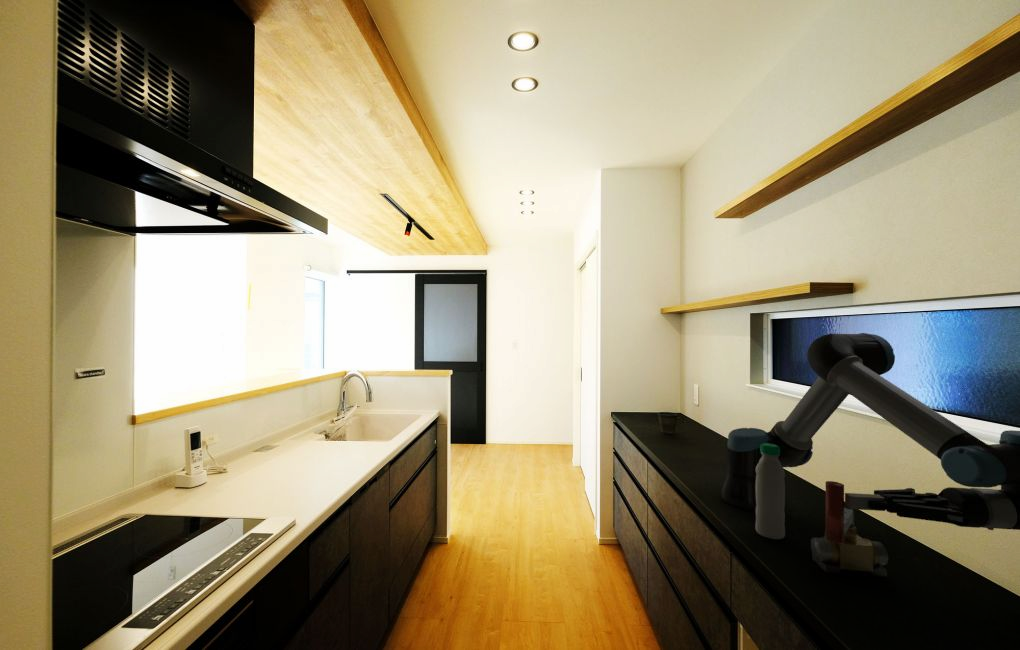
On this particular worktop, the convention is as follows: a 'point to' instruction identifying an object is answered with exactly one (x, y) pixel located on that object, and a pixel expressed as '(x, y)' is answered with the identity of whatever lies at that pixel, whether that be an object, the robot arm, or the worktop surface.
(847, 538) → the valve body
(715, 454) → the worktop surface
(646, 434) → the worktop surface
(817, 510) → the worktop surface
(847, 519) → the valve lever
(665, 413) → the ceramic cup
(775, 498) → the water bottle
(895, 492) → the robot arm
